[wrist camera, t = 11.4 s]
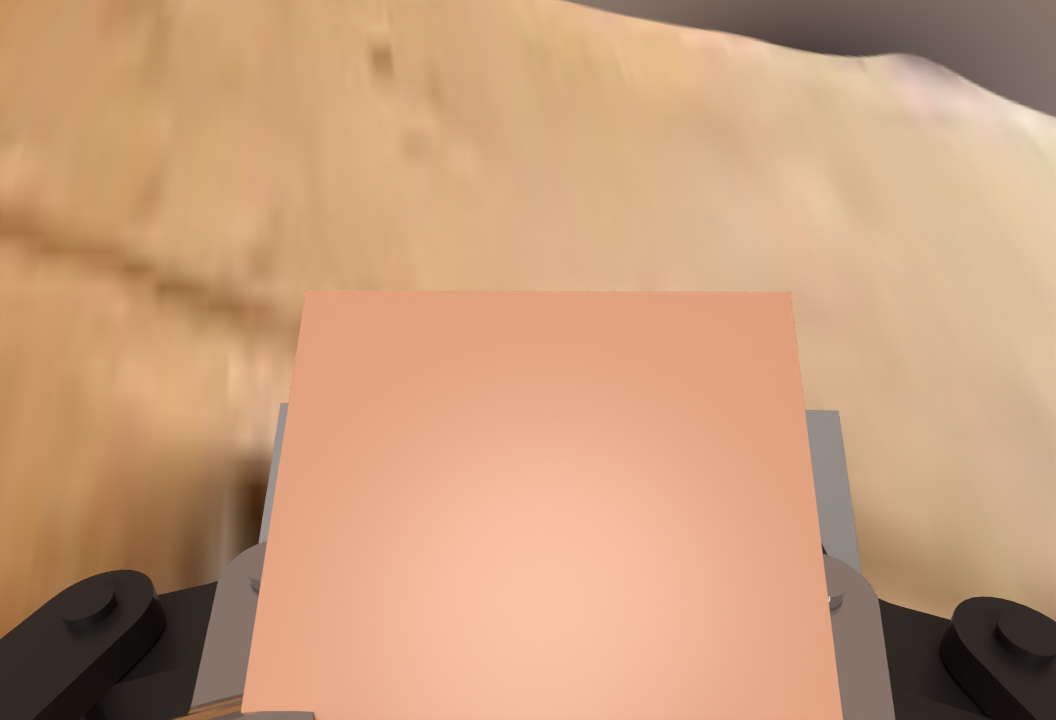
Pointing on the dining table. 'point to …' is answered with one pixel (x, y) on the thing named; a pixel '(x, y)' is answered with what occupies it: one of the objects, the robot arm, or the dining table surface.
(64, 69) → the dining table surface
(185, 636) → the robot arm
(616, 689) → the terracotta brick
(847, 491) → the baseplate
